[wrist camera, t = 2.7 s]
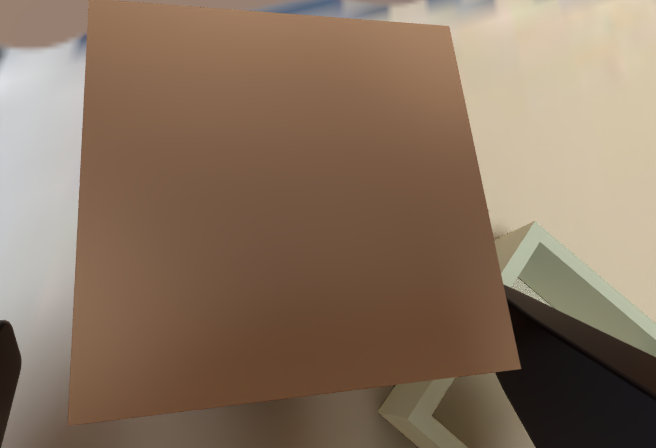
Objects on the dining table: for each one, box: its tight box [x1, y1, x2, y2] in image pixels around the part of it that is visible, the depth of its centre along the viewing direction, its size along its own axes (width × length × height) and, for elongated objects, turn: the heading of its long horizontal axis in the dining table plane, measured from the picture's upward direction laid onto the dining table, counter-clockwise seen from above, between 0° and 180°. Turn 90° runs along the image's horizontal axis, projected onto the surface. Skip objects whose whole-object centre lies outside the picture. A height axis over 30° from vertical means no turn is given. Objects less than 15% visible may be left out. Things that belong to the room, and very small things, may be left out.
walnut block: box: [68, 0, 521, 426], centre depth 12 cm, size 5×5×13 cm
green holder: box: [378, 221, 656, 448], centre depth 18 cm, size 9×9×3 cm
